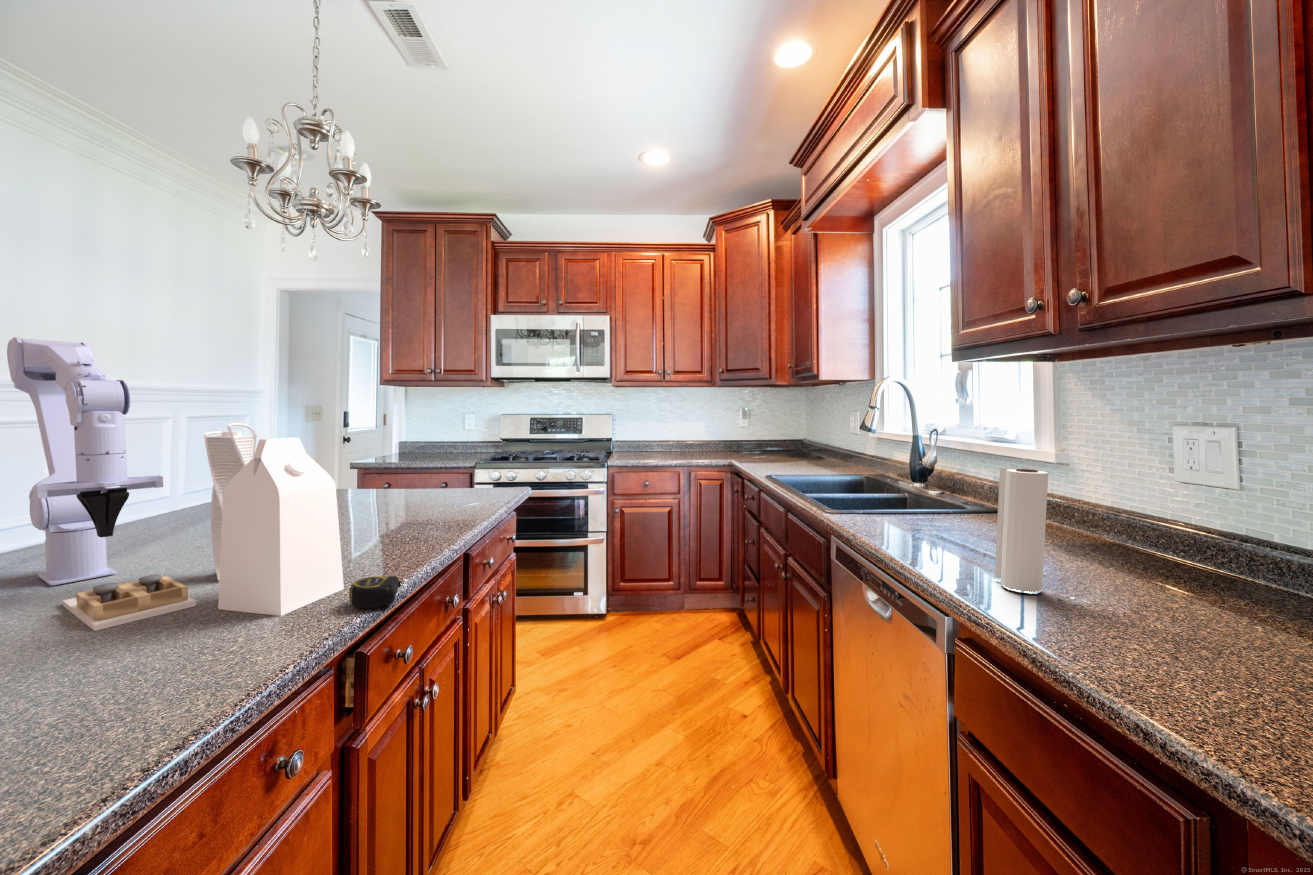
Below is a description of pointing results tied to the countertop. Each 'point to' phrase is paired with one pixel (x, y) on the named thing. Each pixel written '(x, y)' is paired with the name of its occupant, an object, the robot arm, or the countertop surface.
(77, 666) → the countertop surface
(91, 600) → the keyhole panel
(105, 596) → the mounting plate
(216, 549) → the skyscraper
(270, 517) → the milk
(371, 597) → the tape measure
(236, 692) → the countertop surface
